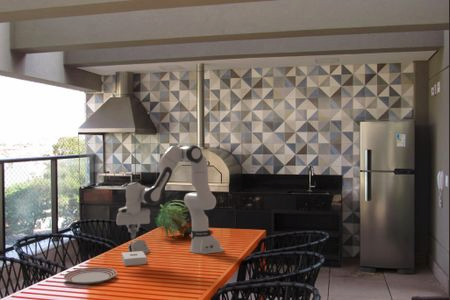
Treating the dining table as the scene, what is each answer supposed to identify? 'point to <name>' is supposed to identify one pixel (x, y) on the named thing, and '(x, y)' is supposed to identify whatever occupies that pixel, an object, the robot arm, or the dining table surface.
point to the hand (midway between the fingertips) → (133, 231)
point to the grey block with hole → (134, 258)
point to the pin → (133, 231)
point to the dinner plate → (90, 275)
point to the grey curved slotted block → (138, 246)
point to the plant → (174, 220)
